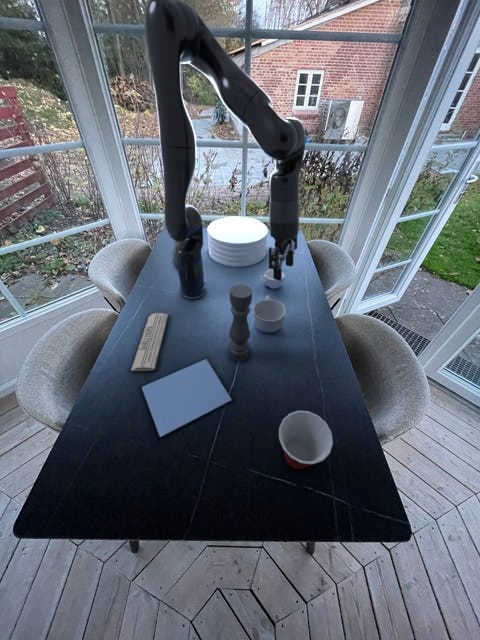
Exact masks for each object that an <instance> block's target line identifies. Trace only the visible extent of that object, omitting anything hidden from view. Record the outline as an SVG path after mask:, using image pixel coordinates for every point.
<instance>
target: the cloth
mask: <svg viewBox="0 0 480 640" xmlns="http://www.w3.org/2000/svg"><path fill="white" fill-rule="evenodd" d="M141 390H142V393H143V396H144V398H145V400H146V403H147V406H148V410H149V411H150V415H151V417H152V419H153V422H154V425H155V428H156V430H157V433H158V436H159V438H162V437H164V436H166V435H168V434H170V433H172V432H174V431H176V430H178V429H180V428H182V427H184V426H186V425H187V424H189V423H192V422H194V421H195V420H197V419H199V418H201V417H204V416H205V415H207V414H209V413H211V412H212V411H214V410H216V409H219V408H220V407H222V406H224V405H226V404H227V403H230V402H232V400H233V398H231V396H230V394H229V392H228V391H227V389H226V388H225V386H224V385H223V384H222V381H221V380H220V379H219V377H218V375H217V374H216V371H214V368H213V367H212V365H211V364H210V363H209V360H208V359H207V358H205V359H203V360H200V361H199V362H196V363H193V364H191V365H189V366H187V367H184V368H182V369H180V370H178V371H175V372H173V373H170V374H169V375H166V376H164V377H162V378H159V379H157V380H155V381H152V382H150V383H148V384H146V385H143V386H141Z"/></svg>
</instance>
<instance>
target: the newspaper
mask: <svg viewBox="0 0 480 640" xmlns="http://www.w3.org/2000/svg"><path fill="white" fill-rule="evenodd" d="M168 319H169V314H168V313H164V312H154V313H152V314H150V315H149V316H148V318H147V320H146V324H145V326H144V329H143V332H142V336H141V339H140V341H139V345H138V348H137V351H136V354H135V357H134V360H133V363H132V366H131V369H130V371H131V372H132V371H135V372H136V371H137V372H151V371H152V372H153V371H155V370H156V366H157V362H158V358H159V354H160V350H161V346H162V343H163V339H164V334H165V330H166V327H167V322H168Z"/></svg>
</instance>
